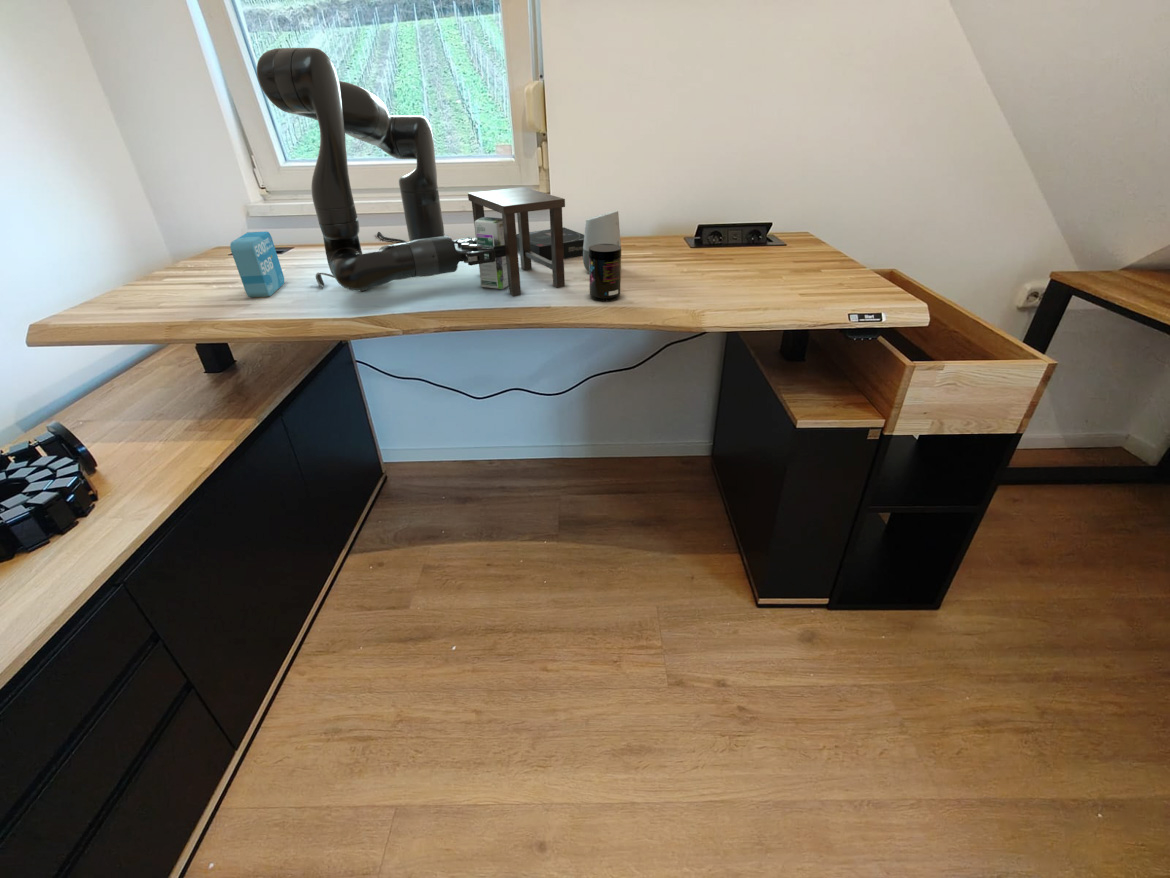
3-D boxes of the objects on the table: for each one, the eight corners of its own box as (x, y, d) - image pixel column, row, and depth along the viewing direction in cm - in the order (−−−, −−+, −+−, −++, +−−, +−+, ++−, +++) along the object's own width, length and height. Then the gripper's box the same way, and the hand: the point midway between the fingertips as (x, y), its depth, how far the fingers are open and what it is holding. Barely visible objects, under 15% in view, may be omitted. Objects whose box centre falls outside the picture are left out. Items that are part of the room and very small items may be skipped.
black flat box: (563, 241, 163) (562, 226, 161) (593, 253, 151) (593, 238, 149) (512, 249, 156) (511, 234, 154) (540, 262, 144) (539, 246, 142)
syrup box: (480, 287, 127) (472, 220, 119) (493, 280, 131) (487, 215, 124) (502, 290, 125) (495, 222, 117) (514, 282, 130) (509, 217, 122)
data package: (269, 298, 123) (250, 242, 116) (247, 299, 122) (227, 243, 116) (286, 282, 133) (269, 229, 126) (266, 283, 132) (248, 230, 126)
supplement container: (606, 290, 124) (606, 241, 118) (627, 297, 119) (628, 247, 114) (583, 296, 120) (582, 247, 115) (603, 304, 116) (603, 253, 110)
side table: (477, 275, 135) (467, 192, 125) (529, 266, 141) (523, 186, 131) (511, 297, 121) (503, 206, 111) (567, 286, 126) (565, 198, 116)
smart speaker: (594, 264, 142) (594, 205, 134) (627, 268, 138) (628, 208, 130) (576, 273, 135) (574, 212, 127) (609, 278, 131) (610, 216, 123)
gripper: (439, 245, 110) (513, 234, 117) (417, 232, 121) (487, 222, 128) (444, 282, 114) (516, 270, 121) (423, 266, 125) (491, 256, 132)
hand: (501, 246), depth 124 cm, fingers open, 8 cm apart
